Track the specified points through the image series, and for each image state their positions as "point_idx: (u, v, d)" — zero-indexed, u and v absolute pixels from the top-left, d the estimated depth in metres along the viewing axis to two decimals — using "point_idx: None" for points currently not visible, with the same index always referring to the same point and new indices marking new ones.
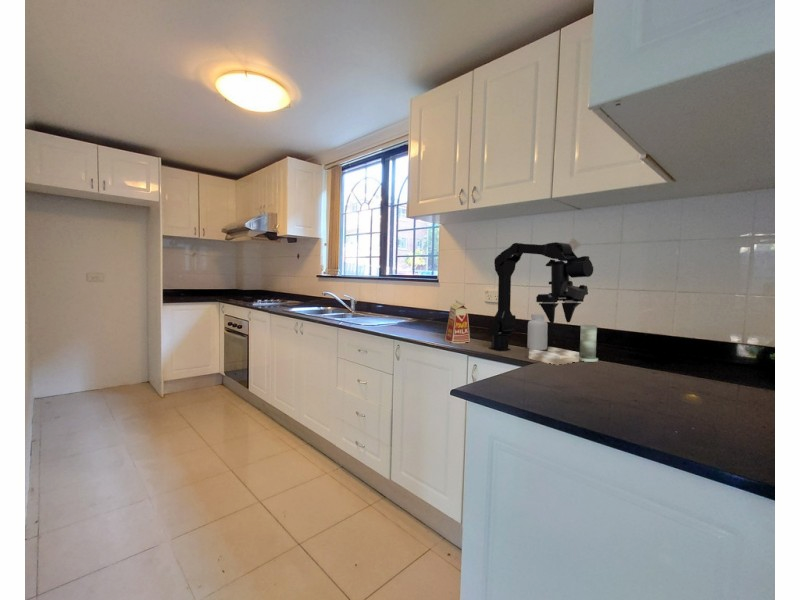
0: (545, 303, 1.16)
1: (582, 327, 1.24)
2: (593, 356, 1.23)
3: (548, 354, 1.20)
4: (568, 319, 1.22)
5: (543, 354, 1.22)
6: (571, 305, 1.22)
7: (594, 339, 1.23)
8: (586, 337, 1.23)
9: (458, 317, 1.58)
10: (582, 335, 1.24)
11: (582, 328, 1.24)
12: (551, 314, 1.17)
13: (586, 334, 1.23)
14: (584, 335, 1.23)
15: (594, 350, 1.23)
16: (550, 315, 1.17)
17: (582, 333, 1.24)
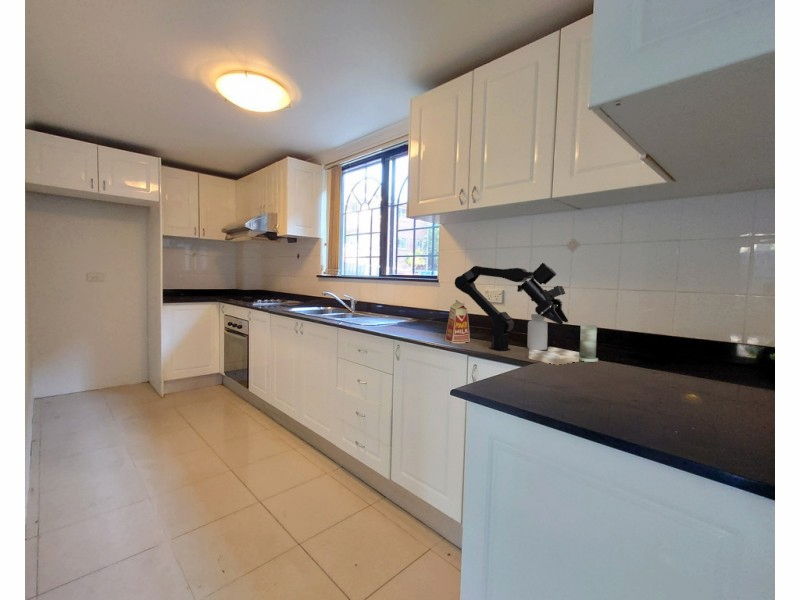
0: (546, 310, 1.26)
1: (582, 327, 1.24)
2: (593, 356, 1.23)
3: (548, 354, 1.20)
4: (565, 319, 1.33)
5: (543, 354, 1.22)
6: (558, 308, 1.35)
7: (594, 339, 1.23)
8: (586, 337, 1.23)
9: (458, 317, 1.58)
10: (582, 335, 1.24)
11: (582, 328, 1.24)
12: (556, 316, 1.26)
13: (586, 334, 1.23)
14: (584, 335, 1.23)
15: (594, 350, 1.23)
16: (556, 318, 1.26)
17: (582, 333, 1.24)
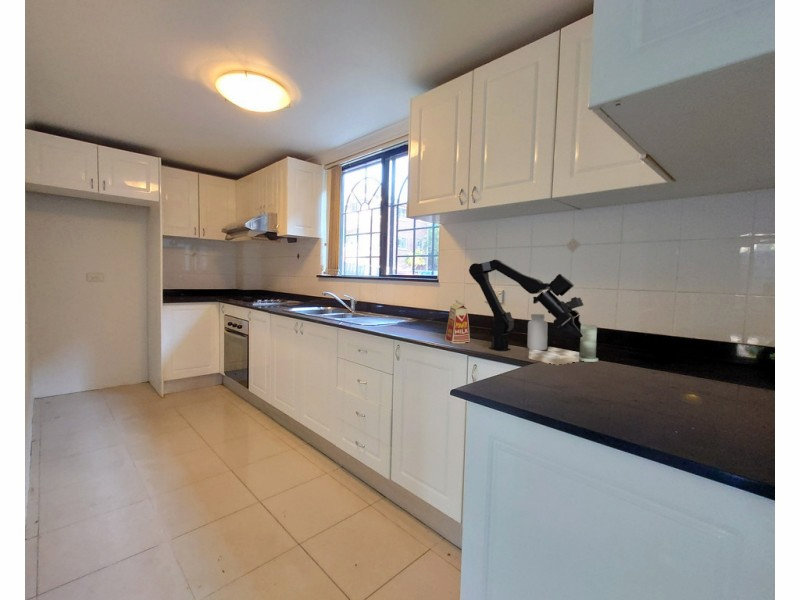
0: (565, 323, 1.22)
1: (582, 327, 1.24)
2: (593, 356, 1.23)
3: (548, 354, 1.20)
4: None
5: (543, 354, 1.22)
6: (576, 320, 1.32)
7: (594, 339, 1.23)
8: (586, 337, 1.23)
9: (458, 317, 1.58)
10: None
11: (582, 328, 1.24)
12: (576, 329, 1.22)
13: (586, 334, 1.23)
14: (584, 335, 1.23)
15: (594, 350, 1.23)
16: (575, 331, 1.22)
17: (582, 333, 1.24)
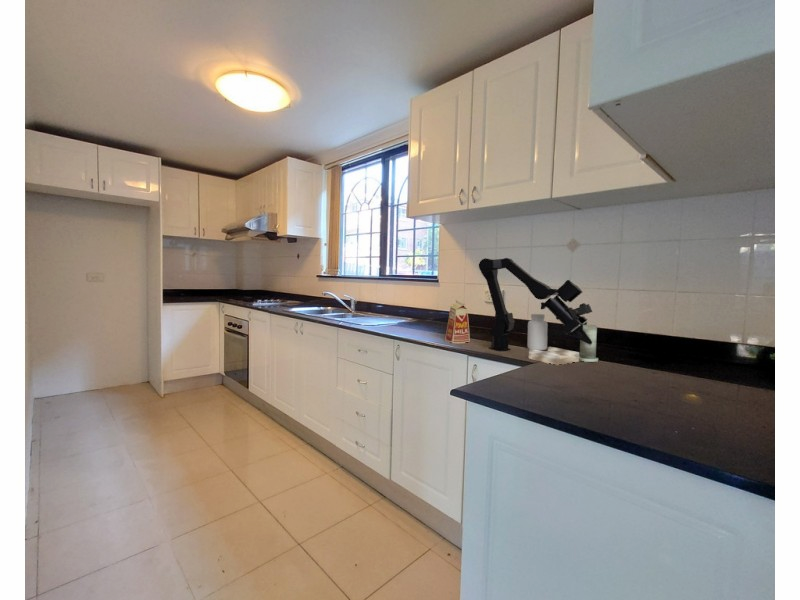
0: (575, 329, 1.22)
1: None
2: (593, 356, 1.23)
3: (548, 354, 1.20)
4: None
5: (543, 354, 1.22)
6: None
7: (594, 339, 1.23)
8: None
9: (458, 317, 1.58)
10: None
11: None
12: (585, 336, 1.22)
13: None
14: None
15: (594, 350, 1.23)
16: (585, 337, 1.22)
17: None
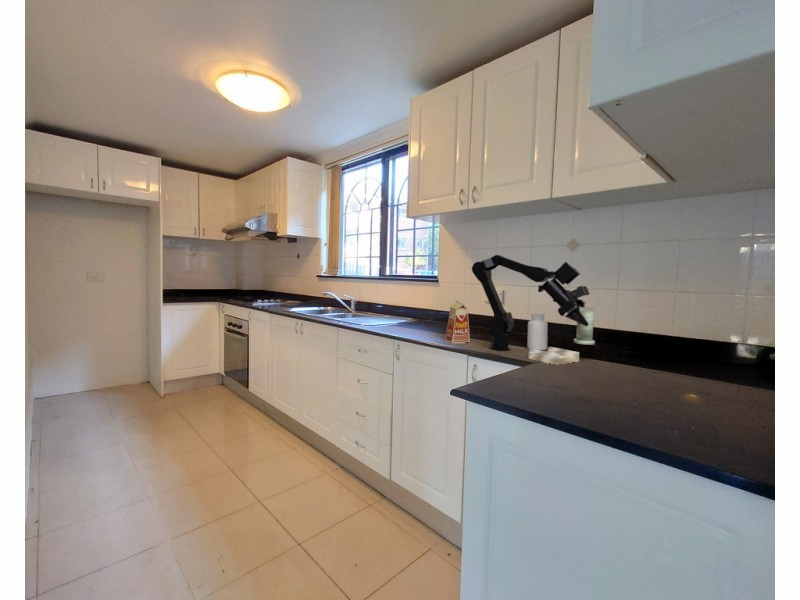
0: (571, 311, 1.22)
1: None
2: (590, 338, 1.22)
3: (548, 354, 1.20)
4: None
5: (543, 354, 1.22)
6: None
7: (591, 321, 1.22)
8: None
9: (458, 317, 1.58)
10: None
11: None
12: (582, 317, 1.22)
13: None
14: None
15: (591, 332, 1.22)
16: (581, 319, 1.22)
17: None
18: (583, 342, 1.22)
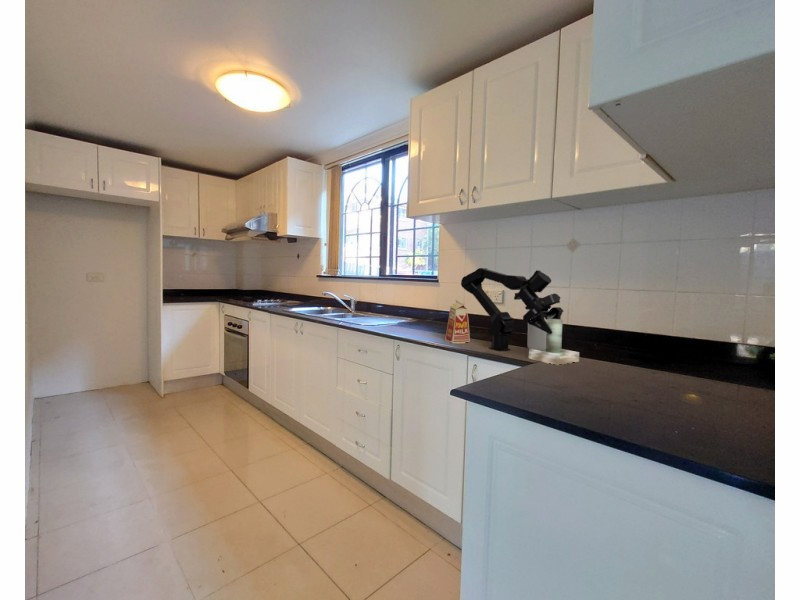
0: (534, 318, 1.23)
1: (547, 321, 1.25)
2: (556, 350, 1.23)
3: (548, 354, 1.20)
4: (562, 329, 1.27)
5: (543, 354, 1.22)
6: (556, 317, 1.29)
7: (557, 333, 1.22)
8: None
9: (458, 317, 1.58)
10: None
11: (547, 322, 1.25)
12: (545, 325, 1.22)
13: None
14: None
15: (558, 344, 1.23)
16: (545, 327, 1.22)
17: None
18: None
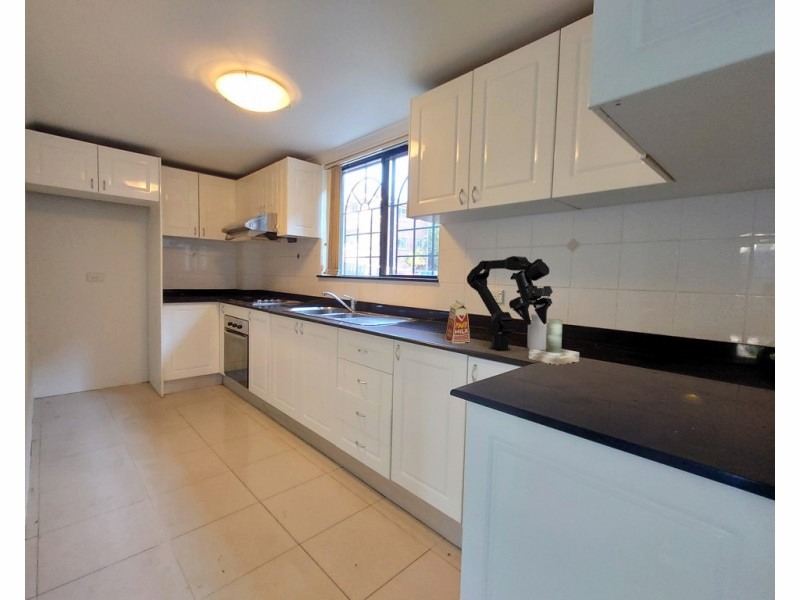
0: (518, 306, 1.26)
1: (547, 321, 1.25)
2: (556, 350, 1.23)
3: (548, 354, 1.20)
4: (544, 321, 1.30)
5: (543, 354, 1.22)
6: (543, 308, 1.32)
7: (557, 333, 1.22)
8: (549, 330, 1.24)
9: (458, 317, 1.58)
10: None
11: (547, 322, 1.25)
12: (526, 315, 1.25)
13: (549, 327, 1.24)
14: (548, 329, 1.24)
15: (557, 344, 1.23)
16: (526, 317, 1.26)
17: (547, 327, 1.25)
18: None
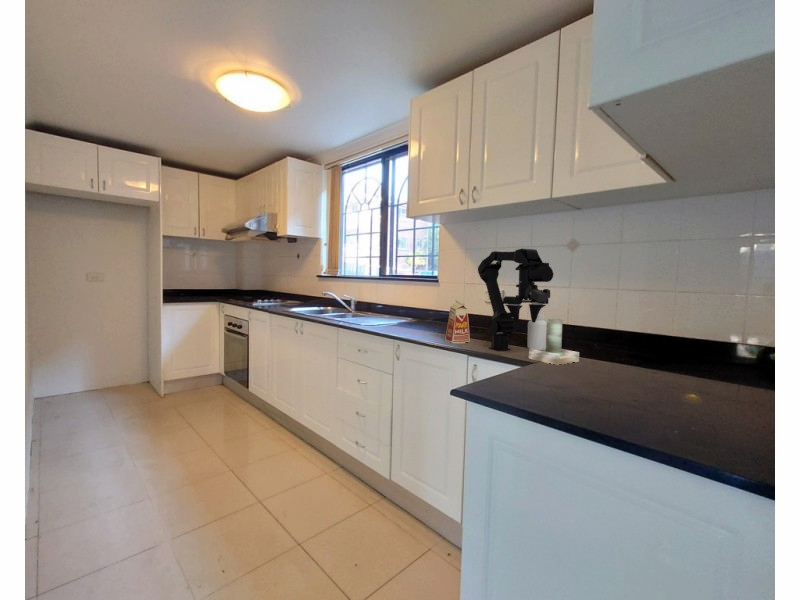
0: (510, 305, 1.26)
1: (547, 321, 1.25)
2: (556, 350, 1.23)
3: (548, 354, 1.20)
4: (533, 320, 1.32)
5: (543, 354, 1.22)
6: (536, 307, 1.32)
7: (557, 333, 1.22)
8: (549, 330, 1.24)
9: (458, 317, 1.58)
10: None
11: (547, 322, 1.25)
12: (516, 315, 1.27)
13: (549, 327, 1.24)
14: (548, 329, 1.24)
15: (557, 344, 1.23)
16: (515, 316, 1.27)
17: (547, 327, 1.25)
18: None
